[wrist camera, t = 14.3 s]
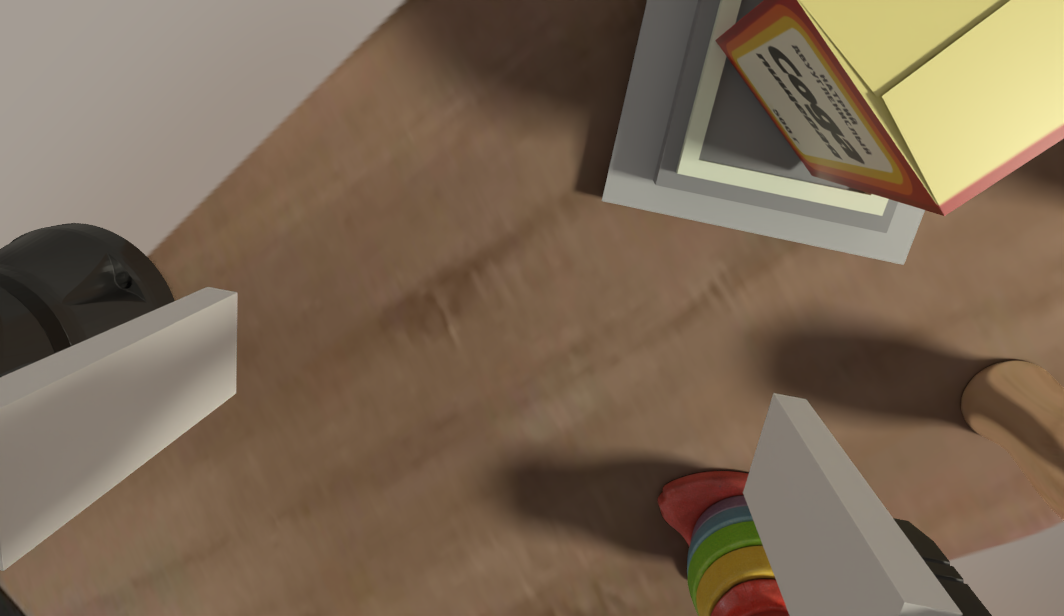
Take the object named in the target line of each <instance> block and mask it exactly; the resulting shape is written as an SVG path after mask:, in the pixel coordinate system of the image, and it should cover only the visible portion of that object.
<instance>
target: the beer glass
mask: <svg viewBox="0 0 1064 616" xmlns="http://www.w3.org/2000/svg"><path fill="white" fill-rule="evenodd" d="M961 410H962V414H963V417H964V419H965V421H966V422H967V424H968V425H969V426H970V427H971V428H972V429H973V430H974V431H975V432H976V433H978V434H979V435H981V436H983V437H985V438H987V439H988V440H990V441H992V442H994V443H996V444H998V445H1000V446H1001V447H1002V448H1004V449H1005V450H1006V451H1007V452H1008V453H1009V454H1010V456H1011V457H1012V458H1013V460H1014V461H1015V462H1016V464H1017V465H1018V467H1019V468H1020V470H1021V471H1022V472H1023V474H1024V475H1025V477H1026V478H1027V479H1028V481H1029V482H1030V484H1031V485H1032V486H1033V488H1034V489H1035V490H1036V492H1037V493H1038V494H1039V495H1040V496H1041V498H1042V499H1043V500H1044V501H1045V503H1046V504H1047V505H1048V506H1049V507H1050V508H1051V509H1052V510H1053V511H1054V512H1055V513H1056V514H1057V515H1058V516H1059V517H1060V518H1061V519H1062V520H1063V521H1064V388H1063V387H1062V386H1061V385H1060V384H1059V383H1058V382H1057V381H1056V380H1055V379H1054V378H1053V377H1052V376H1051V375H1050V374H1049V373H1048V372H1047V371H1046V370H1045V369H1043V368H1042V367H1040V366H1038V365H1036V364H1033V363H1030V362H1026V361H1017V360H1013V361H1004V362H1000V363H996V364H993V365H991V366H989V367H987V368H985V369H983V370H982V371H980V372H979V373H978V374H977V375H975V376H974V377H973V378H972V379H971V381H970V382H969V383H968V385H967V386H966V388H965V390H964V392H963V395H962V400H961Z"/></svg>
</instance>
